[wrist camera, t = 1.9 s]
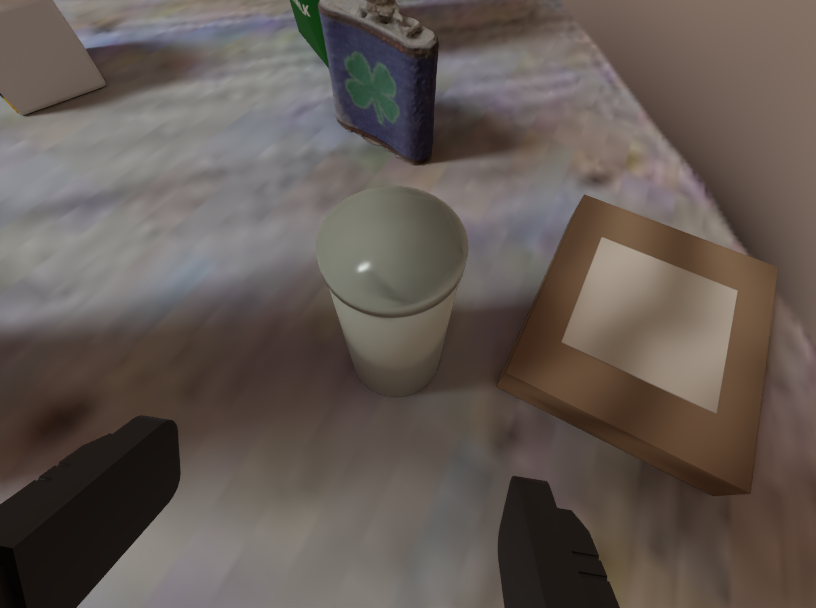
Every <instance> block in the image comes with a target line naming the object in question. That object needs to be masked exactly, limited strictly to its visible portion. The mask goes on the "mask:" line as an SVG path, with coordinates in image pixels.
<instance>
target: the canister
mask: <svg viewBox="0 0 816 608" xmlns="http://www.w3.org/2000/svg"><path fill="white" fill-rule="evenodd" d="M467 256H468V239H467V234H466V231H465V228H464V226H463V224H462V222H461V220H460V218H459V217H458V216H457V214H456V213H455V212H454V211H453V210H452V209H451V208H450V207H449V206H448V205H447V204H446V203H445V202H443V201H442V200H440V199H439V198H437V197H436V196H434V195H432V194H429V193H427V192H425V191H422V190H419V189H415V188H411V187H404V186H381V187H375V188H370V189H366V190H363V191H361V192H358V193H356V194H354V195H352V196H350V197H348V198H346V199H345V200H343V201H342V202H340V203H339V204H338V205H337V206H335V207H334V208H333V209H332V211H331V212H330V213H329V214H328V215H327V217H326V218H325V219H324V221H323V223H322V225H321V227H320V229H319V232H318V235H317V240H316V257H317V262H318V265H319V268H320V271H321V274H322V277H323V279H324V281H325V283H326V285H327V286H328V288H329V290H330V293H331V296H332V299H333V302H334V305H335V309H336V312H337V315H338V318H339V321H340V324H341V328H342V331H343V334H344V337H345V340H346V343H347V346H348V350H349V353H350V356H351V359H352V362H353V365H354V368H355V371H356V373H357V375H358V377H359V378H360V380H361V381H362V382H363V383H364V385H366V386H367V387H368V388H369V389H371V390H372V391H374V392H376V393H378V394H381V395H384V396H389V397H403V396H407V395H411V394H413V393H416V392H418V391H419V390H421V389H422V388H424V387H425V386H426V385H427V384H428V383H429V382H430V381H431V380H432V378H433V377H434V375H435V373H436V371H437V369H438V365H439V361H440V357H441V353H442V349H443V344H444V340H445V336H446V332H447V328H448V324H449V319H450V315H451V311H452V307H453V303H454V299H455V294H456V290H457V286H458V283H459V282H460V279H461V277H462V275H463V272H464V268H465V265H466V261H467Z"/></svg>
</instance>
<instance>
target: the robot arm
mask: <svg viewBox="0 0 816 608" xmlns="http://www.w3.org/2000/svg"><path fill="white" fill-rule="evenodd" d="M179 481H180V457H179V443H178V429H177V425H176V423H175V422H174V421H173V420H168V419H161V418H155V417H149V416H142V415H141V416H137V417H135V418H134V419H132V420H131V421H130V422H128V423H127V424H126V425H124V426H123V427H121V428H120V429H119V430H117V431H116V432H115V433H113V434H108V435H106V436H103V437H101V438H99V439H97V440H95V441H92V442H90V443H88V444H86V445H83V446H82V447H80V448H79V449H77V450H76V451H75V452H73V453H72V454H70V455H69V456H68V457H66V458H65V459H63V460H62V461H61V462H59V465H58V466H54V467H52V468H51V469H49V470H48V471H47V472H45V473H44V474H42V475H41V476H40V477H39V479H38V480H37V481H36V480H34V481H33V482H31V483H30V484H28V485H27V486H26V487H24V488H23V489H21V490H20V491H19V492H17V493H16V494H14V495H13V496H12V497H10V498H9V499H7V500H6V501H5V502H3V503H2V504H0V608H77V606H78V605H79V604H80V603H81V602H82V601H83V600H84V598H85V597H86V596H87V595H88V594H89V593H90V592H91V590H92V589H93V588H94V587H95V586H96V585H97V584H98V583H99V581H100V580H101V579H102V578H103V577H104V576H105V575H106V573H107V572H108V571H109V570H110V569H111V568H112V567H113V565H114V564H115V563H116V562H117V561H118V560H119V559H120V557H121V556H122V555H123V554H124V553H125V552H126V551H127V550H128V548H129V547H130V546H131V545H132V544H133V543H134V542H135V540H136V539H137V538H138V537H139V536H140V535H141V534H142V532H143V531H144V530H145V529H146V528H147V527H148V526H149V525H150V523H151V522H152V521H153V520H154V519H155V518H156V517H157V515H158V514H159V513H160V512H161V511H162V510H163V509H164V507H165V506H166V505H167V504H168V503H169V502H170V500H171V499H172V497H173V496H174V494H175V492H176V490H177V487H178V484H179ZM498 561H499V568H500V576H501V584H502V591H503V599H504V607H505V608H620V607H619V605H618V602H617V600H616V597H615V595H614V592H613V590H612V587H611V585H610V582H608V581H607V575H606V572H605V570H604V567H603V565H602V562H601V561H600V560H599V555H598V553H597V550H596V548H595V545H594V543H593V540H592V538H591V535H590V533H589V531H588V530H587V529H586V527H585V526H584V525H583V524H582V523H581V521H580V520H579V519H578V518H577V516H576V515H575V514H574V513H573V512H572V510H566V509H560V508H557V506H556V503H555V500H554V497H553V494H552V491H551V488H550V486H549V484H548V482H547V481H542V480H536V479H530V478H523V477H517V476H513V477H512V478H511V481H510V484H509V489H508V493H507V498H506V502H505V506H504V511H503V515H502V519H501V524H500V529H499V536H498Z"/></svg>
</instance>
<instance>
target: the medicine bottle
mask: <svg viewBox="0 0 816 608" xmlns="http://www.w3.org/2000/svg"><path fill="white" fill-rule="evenodd" d="M105 85H106V83H105V80H104V79H103V77H102V75H101V74H100V72H99V70H98V69H97V67H96V66H95V64H94V62H93V61H92V59H91V57H90V56H89V54H88V52H87V51H86V49H85V47H84V46H83V44H82V43H81V41H80V40H79V38H78V37H77V35H76V34H75V32H74V31H73V30H72V28H71V27H70V25H69V24H68V22H67V21H66V19H65V18H64V16H63V15H62V13H61V12H60V10H59V9H58V7H57V6H56V4H55V3H54V1H53V0H0V96H1V97H2V98H3V99H4V100H5V101H6V102H7V103H8V104H9V105H10V106H11V107H12V108H13V109H14V110H15V111H16V112H17V113H18V114H20V115H26V114H29V113H32V112H34V111H37V110H40V109H43V108H46V107H48V106H51V105H54V104H57V103H60V102H63V101H65V100H68V99H71V98H74V97H77V96H79V95H82V94H85V93H88V92H91V91H94V90H96V89H99V88H102V87H104V86H105Z"/></svg>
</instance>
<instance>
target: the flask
mask: <svg viewBox="0 0 816 608" xmlns="http://www.w3.org/2000/svg"><path fill="white" fill-rule="evenodd" d="M318 9H319V14H320V18H321V24H322V28H323V35H324V39H325V46H326V51H327V57H328V63H329V71H330V76H331V82H332V91H333V97H334V106H335V112H336V118H337V121H338V122H339V123H340V124H341V126H342V127H344V128H345V129H346V130H347V131H349V132H351V131H353V132H355V133H357V134H358V135H360V136H361V137H363V139H365V140H367V141H368V142H370V143H372V144H374V145H382V146H384V147H385V151H390V152H393V153H395V154H396V156H397V158H398V157H399V158H402V160H404V161H405V162H407V163H408V164H410V165H412V164H413V165H423V166H424V165H425V163H427V162H428V161H429V160H430V159H431V155H432V144H433V125H434V101H435V90H436V74H437V61H438V46H439V43H438V37H437V36H436V35H435V34H434V33H433V32H432V31H431V30H429V29H428V28H426V27H424V26H422V25H421V23H420V22H419V21H417V20H415V19H413V18H410V17H407V16H405V15H403V14H401V13H399V11H400V7H399V5H398V4H397V3H396V1H394V0H319V3H318Z"/></svg>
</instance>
